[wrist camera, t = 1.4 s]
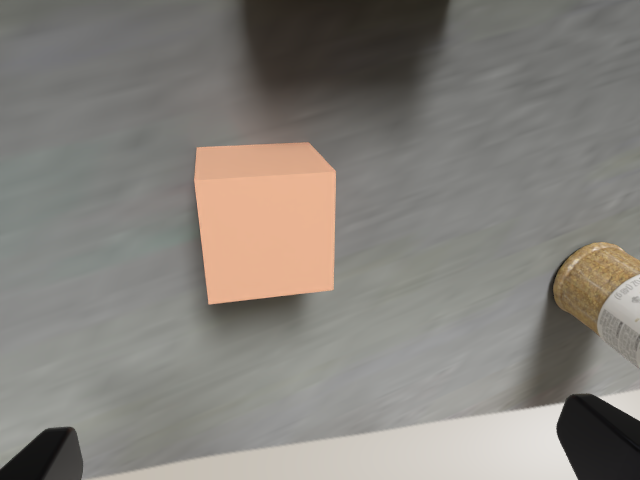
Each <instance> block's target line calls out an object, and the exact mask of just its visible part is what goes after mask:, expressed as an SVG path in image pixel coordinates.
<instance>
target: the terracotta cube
mask: <svg viewBox="0 0 640 480" xmlns="http://www.w3.org/2000/svg"><path fill="white" fill-rule="evenodd" d="M194 182H195V191H196V199H197V208H198V216H199V225H200V234H201V242H202V251H203V260H204V268H205V277H206V285H207V294H208V303H209V304H217V303H225V302H234V301H243V300H251V299H260V298H269V297H277V296H286V295H295V294H303V293H312V292H320V291H329V290H334V242H335V193H336V171H335V170H334V169H333V168H332V167H331V166H330V165H329V164H328V163H327V162H326V160H325V159H324V158H323V157H322V156H321V155H320V154H319V153H318V152H317V151H316V150H315V149H314V147H313V146H312V145H311V144H310V143H309V142H305V143H283V144H261V145H239V146H217V147H197V152H196V165H195V178H194Z"/></svg>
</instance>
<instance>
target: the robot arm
mask: <svg viewBox="0 0 640 480" xmlns="http://www.w3.org/2000/svg"><path fill="white" fill-rule="evenodd" d="M556 429H557V435H558V438H559V440H560V443H561V445H562V447H563V449H564V451H565V453H566V455H567V457H568V459H569V462H570V464H571V466H572V468H573V470H574V472H575V474H576V476H577V478H578V480H640V421H639V420H637V419H635V418H633V417H632V416H630V415H628V414H626V413H624V412H623V411H621V410H619V409H617V408H616V407H614V406H612V405H610V404H609V403H606V402H605V401H603V400H602V399H600V398H598V397H596V396H594V395H592V394H573V395H570V396H569V397H568V398H567V399H566V401H565V404H564V406H563V409H562V412H561V414H560V417H559V420H558V423H557V428H556ZM82 473H83V459H82V455H81V450H80V446H79V442H78V437H77V433H76V431H75V429H74V428H73V427H57V428H48V429H46V430H44V431H43V432H41V433H40V434H39V435H38V436H37V437H36V438H35V439H34V440H32V441H31V442H30V443H29V444H28V445H27V446H26V447H25V448H23V449H22V450H21V451H20V452H19V453H18V454H17V455H16V456H15V457H13V458H12V459H11V460H10V461H9V462H8V463H7V464H6V465H5V466H3V467H2V468H1V469H0V480H81V478H82Z"/></svg>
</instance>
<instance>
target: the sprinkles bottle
mask: <svg viewBox="0 0 640 480" xmlns="http://www.w3.org/2000/svg"><path fill="white" fill-rule="evenodd" d="M553 292H554V299H555V301H556V304H557V305H558V306H559V307H560V308H561V309H562V310H564V311H566V312H568V313H570V314H572V315H573V316H575V317H576V318H577V319H578V320H580V321H581V322H582V323H583V324H585V325H586V326H588V327H589V328H590V329H591V330H593V331H594V332H595V333H596V334H597V335H599V336H600V337H601V338H602V339H603V340H604V341H605V342H606V343H607V344H608V345H610V346H611V347H612V348H613V349H615V350H616V351H617V352H618V353H620V354H621V355H622V356H624V357H625V358H626V359H627V360H629V361H630V362H631V363H632V364H634V365H635V366H636V367H638V368H639V369H640V260H637V259H635V258H634V257H632V256H630V255H628V254H627V253H626V252H625V251H624V250H623V249H622V248H620V247H618V246H617V245H614V244H609V243H603V242H599V243H592V244H590V245H587V246H584V247H582V248H581V249H579V250H577V251H576V252H575V253H574V254H573V255H571V256H570V257H569V258H568V259H567V260H566V261H565V262H564V264H563V265H562V267H561V268H560V269H559V271H558V273H557V276H556V278H555V282H554V286H553Z"/></svg>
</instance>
